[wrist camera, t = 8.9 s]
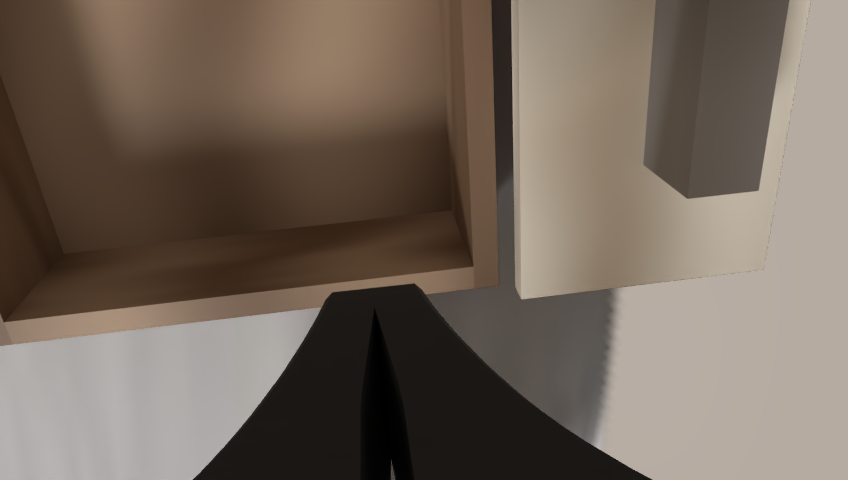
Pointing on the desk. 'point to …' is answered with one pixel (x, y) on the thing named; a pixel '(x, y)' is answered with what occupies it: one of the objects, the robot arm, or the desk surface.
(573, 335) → the desk surface
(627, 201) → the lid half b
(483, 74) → the walnut box
